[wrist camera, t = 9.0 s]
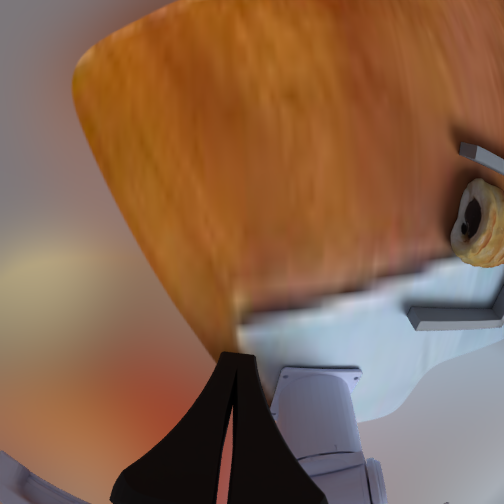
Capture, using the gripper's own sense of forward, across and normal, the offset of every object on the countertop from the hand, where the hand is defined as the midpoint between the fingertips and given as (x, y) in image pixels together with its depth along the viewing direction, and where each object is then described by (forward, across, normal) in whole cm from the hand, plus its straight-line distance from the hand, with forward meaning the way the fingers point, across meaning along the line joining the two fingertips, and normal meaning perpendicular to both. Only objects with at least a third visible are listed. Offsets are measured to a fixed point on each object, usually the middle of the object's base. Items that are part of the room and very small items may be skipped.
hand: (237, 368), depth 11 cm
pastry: (+10, -19, -6) cm, 22 cm away
